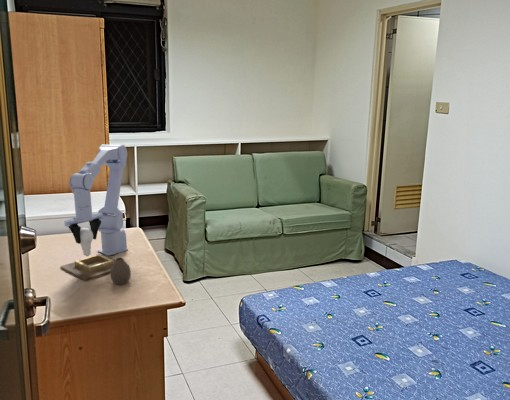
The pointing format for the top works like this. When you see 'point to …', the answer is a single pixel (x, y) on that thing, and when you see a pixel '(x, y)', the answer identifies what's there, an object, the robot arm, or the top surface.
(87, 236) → the white light bulb
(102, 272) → the lamp base
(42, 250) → the top surface
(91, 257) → the socket collar
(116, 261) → the vase
